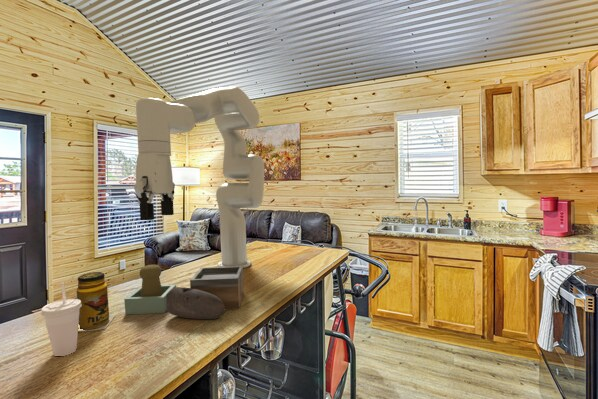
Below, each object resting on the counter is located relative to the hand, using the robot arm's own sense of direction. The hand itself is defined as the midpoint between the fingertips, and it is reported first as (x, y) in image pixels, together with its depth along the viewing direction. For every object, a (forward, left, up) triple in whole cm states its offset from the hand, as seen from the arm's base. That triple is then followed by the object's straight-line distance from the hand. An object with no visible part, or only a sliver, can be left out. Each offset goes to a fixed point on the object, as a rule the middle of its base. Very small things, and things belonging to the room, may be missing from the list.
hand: (158, 217), depth 81 cm
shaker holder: (-2, -4, -24) cm, 24 cm away
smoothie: (+19, -12, -24) cm, 33 cm away
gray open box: (-3, +14, -24) cm, 28 cm away
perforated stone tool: (+6, +10, -24) cm, 27 cm away
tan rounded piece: (-2, -4, -24) cm, 25 cm away
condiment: (+7, -14, -24) cm, 29 cm away
